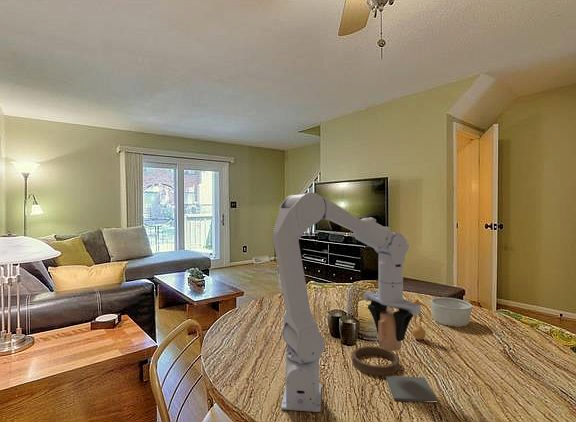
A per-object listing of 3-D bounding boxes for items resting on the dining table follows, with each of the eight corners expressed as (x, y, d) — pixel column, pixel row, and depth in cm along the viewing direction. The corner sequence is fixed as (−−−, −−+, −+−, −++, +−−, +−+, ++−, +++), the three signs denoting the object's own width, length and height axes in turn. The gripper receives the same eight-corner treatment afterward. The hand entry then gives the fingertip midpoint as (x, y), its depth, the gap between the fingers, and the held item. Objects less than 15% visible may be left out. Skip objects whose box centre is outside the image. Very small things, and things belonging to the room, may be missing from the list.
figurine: (406, 341, 95) (406, 302, 95) (401, 333, 101) (401, 296, 101) (435, 342, 95) (435, 303, 94) (428, 334, 101) (428, 297, 100)
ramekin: (480, 329, 105) (480, 308, 105) (440, 328, 106) (440, 308, 105) (459, 315, 119) (459, 297, 118) (424, 315, 119) (424, 297, 119)
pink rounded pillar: (387, 340, 80) (387, 309, 80) (405, 346, 76) (405, 314, 76) (371, 347, 76) (371, 314, 76) (389, 354, 72) (389, 320, 72)
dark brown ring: (403, 376, 75) (403, 368, 75) (354, 373, 77) (354, 365, 77) (392, 354, 87) (392, 347, 87) (350, 352, 88) (350, 345, 88)
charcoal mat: (438, 403, 65) (438, 400, 65) (394, 400, 66) (394, 397, 66) (424, 379, 74) (424, 377, 74) (385, 377, 75) (385, 375, 75)
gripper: (427, 284, 73) (427, 341, 73) (376, 273, 85) (375, 323, 85) (410, 289, 69) (410, 350, 69) (359, 277, 80) (358, 329, 81)
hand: (390, 336), depth 77 cm, fingers closed on pink rounded pillar, 5 cm apart
